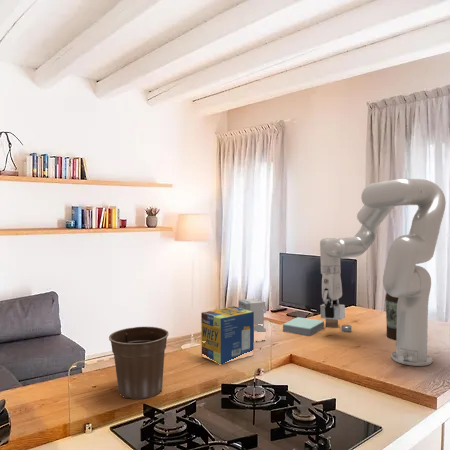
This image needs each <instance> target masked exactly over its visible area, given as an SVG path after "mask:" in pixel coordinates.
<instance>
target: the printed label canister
mask: <svg viewBox="0 0 450 450" xmlns="http://www.w3.org/2000/svg"><path fill="white" fill-rule="evenodd" d="M397 303H398V298H397V297H392V296H390V295H389V294H388V293H387V292H386V295H385V313H386V317H385V319H386V321H385V322H386V337H387V338H389V339H391V338H392V339H391V340H395V339H396V340H395V341H397Z"/></svg>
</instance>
